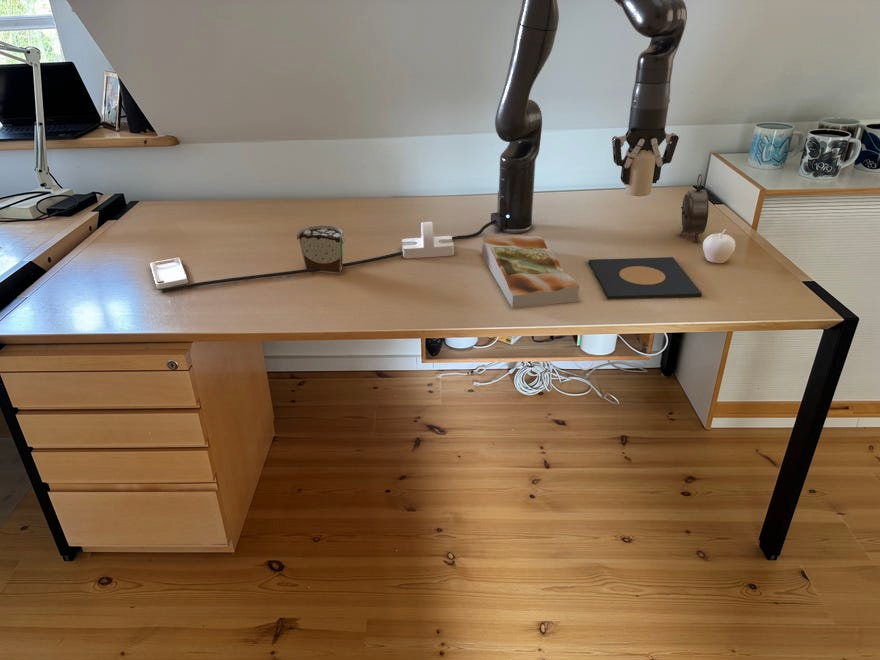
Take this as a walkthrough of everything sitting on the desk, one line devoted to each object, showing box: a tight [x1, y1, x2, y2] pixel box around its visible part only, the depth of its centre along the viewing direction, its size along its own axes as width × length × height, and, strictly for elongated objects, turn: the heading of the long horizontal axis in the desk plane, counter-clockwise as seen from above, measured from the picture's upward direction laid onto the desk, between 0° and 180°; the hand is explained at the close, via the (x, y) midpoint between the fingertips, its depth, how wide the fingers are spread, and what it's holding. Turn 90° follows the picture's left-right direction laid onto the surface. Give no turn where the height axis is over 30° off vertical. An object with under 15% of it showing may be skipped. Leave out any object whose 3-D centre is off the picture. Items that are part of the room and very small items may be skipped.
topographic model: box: [481, 235, 580, 309], centre depth 156 cm, size 30×14×5 cm, turn 7°
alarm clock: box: [679, 173, 710, 243], centre depth 170 cm, size 11×5×16 cm, turn 168°
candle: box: [625, 150, 656, 197], centre depth 149 cm, size 6×6×10 cm
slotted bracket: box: [401, 221, 455, 259], centre depth 171 cm, size 13×7×8 cm, turn 93°
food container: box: [296, 224, 346, 275], centre depth 165 cm, size 12×6×10 cm, turn 71°
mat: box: [588, 256, 703, 300], centre depth 153 cm, size 20×20×1 cm
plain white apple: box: [702, 228, 736, 264], centre depth 158 cm, size 7×7×8 cm
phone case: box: [149, 257, 189, 290], centre depth 167 cm, size 7×1×15 cm
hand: (639, 182), depth 150 cm, fingers closed on candle, 5 cm apart
